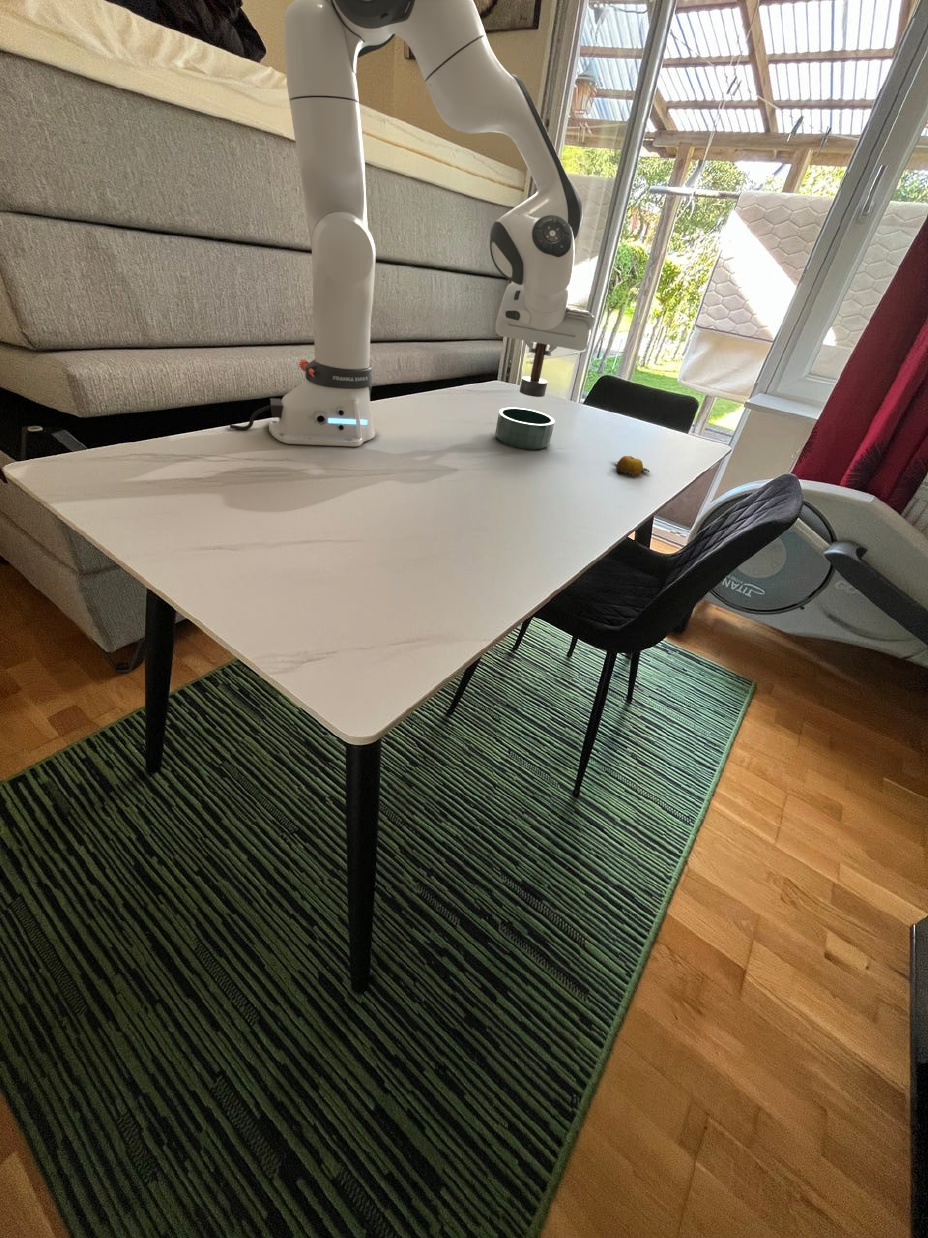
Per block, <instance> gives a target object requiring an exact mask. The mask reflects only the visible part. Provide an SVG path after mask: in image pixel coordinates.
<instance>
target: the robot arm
mask: <svg viewBox="0 0 928 1238" xmlns="http://www.w3.org/2000/svg"><path fill="white" fill-rule="evenodd" d="M395 36H397V37H399V38H401V39H402V40H403V41H404V42H405V43H406V44H407V46H408V47H409V49H410V50H411V52H412V54H413V56H414V58H415V60H416V63H417V64H418V68H419V71H420V73H421V76H422V78H423V81H424V83H425V87H426V89H427V91H428V94H429V97H430V100H431V101H432V103H433V106H434V108H435V110H436V112H437V114H438V115H439V117H440V119H441V120H442V122H444V123H445V124H446V125H447V126H449V128H451V129H453V130H456V131H458V132H460V133H461V132H462V133H464V134H465V133H466V134H480V133H500V134H504V135H506V136H508V137H509V138H510V139H511V140H512V141H513V142H514V143H515V145H516V147H517V149H518V151H519V152H520V155H521V157H522V159H523V161H524V163H525V165H526V167H527V169H528V171H529V174H530V175H531V178H532V180H533V181H534V184H535V186H536V191H535V192H536V193H534V194H533V195H531V196H530V197H528V198H527V199H525V200H524V201H523V202H521V203H520V204H518V205H517V206H514V207H513V208H511V209H510V210H509V211H507V212H506V213H504V214H503V215H502V216H501V217H499V218H497V220H495V221H494V222H493V224H492V227H491V229H490V233H489V234H490V235H489V251H490V256H491V259H492V262H493V265H494V267H495V268H496V270H497V271H498V272H499V273H500V274H501V275H502V276H503V277H504V278H505V279H506V280H509V281H510V282H512V283H509V284H507V286H506V288H505V291H504V293H503V296H502V300H501V303H500V306H499V310H498V314H497V316H496V317H497V318H496V320H495V333H496V334H497V335H498V336H499V337H503V338H510V339H515V340H519V341H520V340H521V341H524V343H525V345H526V347H528V353H532V354H535V351H536V346H537V343H541V344H547V345H546V348H545V354H544V356H547V357H551V356H552V354H553V351H555V350H556V349H557V348H563V349H569V350H574V351H578V352H582V351H584V350H586V349H588V345H589V342H590V337H591V330H592V329H593V328H594V326H595V322H596V317H595V315H593V314H591V313H590V312H589V311H588V310H581V309H578V308H573V307H568V303H569V298H570V284H571V281H572V278H573V273H574V265H575V240H576V239H577V237H578V235H579V232H580V229H581V226H582V223H583V217H584V205H583V200H582V197H581V195H580V194H579V191H578V189H577V188H576V186H575V185H574V183H573V181H572V180H571V179H570V177H569V175H568V174H567V172H566V169H565V168H564V166H563V164H562V162H561V159H560V157H559V155H558V153H557V150H556V148H555V146H554V144H553V142H552V139H551V137H550V135H549V133H548V130H547V128H546V126H545V123H544V122H543V120H542V118H541V115H540V113H539V111H538V109H537V107H536V105H535V103H534V101H533V99H532V98H533V97H532V96H531V95H530V93H529V90H528V89H527V87H526V85H525V83H524V82H523V80H522V79H521V78H520V77H519V76H518V75H517V74H513V73H509V72H508V71H507V70H506V69H505V67H504V66H503V65H502V64H501V63H500V62H499V60H498V58H497V57H496V55H495V53H494V51H493V49H492V47H491V45H490V43H489V40H488V39H489V38H488V37H487V34H486V31H485V27H484V25H483V23H482V20H481V17H480V14H479V12H478V9H477V6H476V4H475V2H474V0H293V1H292V2H291V3H290V4H289V6H288V7H287V9H286V11H285V14H284V18H283V47H284V48H283V49H284V68H285V78H286V87H287V94H288V101H289V108H290V114H291V122H292V128H293V134H294V142H295V148H296V154H297V161H298V169H299V174H300V180H301V181H300V182H301V188H302V193H303V200H304V208H305V214H306V221H307V228H308V234H309V240H310V248H311V265H312V267H311V268H312V269H311V270H312V305H313V334H314V335H313V341H314V359H313V360H311V361H310V362H309V361H308V360H307V359H305V358H302V359H300V361H299V362H298V366H299V368H300V370H302V371H303V372H304V373H305V374H304V375H305V380H303V381H302V382H301V383H299V384H298V385H297V386H295V387H294V388H293V389H291V390H290V391H289V392H287V393H286V394H285V395H283V397H282V399H281V398H274V397H273V398H272V397H271V398H269V402H270V404H269V405H267V406H263V407H261V408H258V409H257V410H255V411H254V412H253V413H252V414H251V416H250V418H249V422H248V424H247V425H245V426H242V425H236V424H229V429H233V430H237V431H247V430H250V429H251V428H252V427H253V425H254V422H255V419H256V417H257V416H258V415H259V414H262V413H264V412H267V411H270V412H271V417H272V418H271V420H269V423H268V430H269V433H270V434H271V436H273V438H275V439H276V440H277V441H279V442H282V443H284V444H290V445H307V446H308V445H309V446H332V447H333V446H334V447H360V446H361V445H362V444H363V443H364V442H367V441H370V440H372V439H373V438H375V436H376V431H375V428H374V422H373V417H372V416H373V415H372V408H371V394H372V386H373V374H372V366H371V364H370V363H371V361H370V359H371V330H372V329H371V327H372V326H371V325H372V315H373V305H374V304H373V303H374V291H375V277H376V276H375V275H376V259H377V258H376V257H377V255H376V253H377V250H376V245H375V241H374V238H373V236H372V235H373V234H372V233H371V231H370V230H369V227H368V213H367V211H368V210H367V193H366V166H365V165H366V164H365V154H364V153H365V152H364V144H363V131H362V122H361V111H360V110H361V109H360V101H359V91H358V90H359V89H358V82H357V81H358V79H357V77H358V76H357V61H358V59H359V58H361V57H363V56H365V55H367V54H370V53H372V52H375V51H378V50H380V49H382V48H384V47H385V46H386V45H388V44H389V43H390V42H391V41H392V40H393V39H394V37H395Z"/></svg>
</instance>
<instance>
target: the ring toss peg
mask: <svg viewBox="0 0 928 1238" xmlns="http://www.w3.org/2000/svg"><path fill="white" fill-rule="evenodd" d="M546 345H547V344H541V343H537V346H536V351H535V353H534V357H533V361H532V367H531V373H530V376H522V377H521V381H520V386H519V393H520V394H522V395H524V396H528V397H533V398H543V397H545V396H546V390H547V386H548V381H547V380H545V379H543V378H541V375H542V371H543V365H544V361H545V355H544V354H545V348H546Z"/></svg>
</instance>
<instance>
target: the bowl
mask: <svg viewBox="0 0 928 1238" xmlns="http://www.w3.org/2000/svg"><path fill="white" fill-rule="evenodd" d="M554 426H555V419H554V418H553V417H552V416H550V415H548V414H546V413H544V412H540V411H537V410H533V409H527V408H520V407H504V408H500V409H499V411H498V415H497V420H496V426H495V433H494V435H495V436H496V438H497V440H499V442H501V443H503V444H505V445H507V446H511V447H513V448H517V449H522V450H530V451H534V450H537V451H538V450H542V449H545V448H547V447H548V446H549V445H550V442H551V438H552V435H553V430H554Z"/></svg>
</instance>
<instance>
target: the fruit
mask: <svg viewBox="0 0 928 1238" xmlns="http://www.w3.org/2000/svg"><path fill="white" fill-rule="evenodd" d="M614 463H615V465H616V467H615V470H616V472H617V473H619V474H620V473H624V474H626V473H628V474H631V475H632V477H639V476H640V475H641V473H642V472H646V474H648V473H650V472H651V471H650V469H648V468H646V467H644V464H643V461H642V460H641V459H639V458H636V457H633V456H632V455H623V456H622V457H621V458H619V460H618V461H615V462H614Z"/></svg>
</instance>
